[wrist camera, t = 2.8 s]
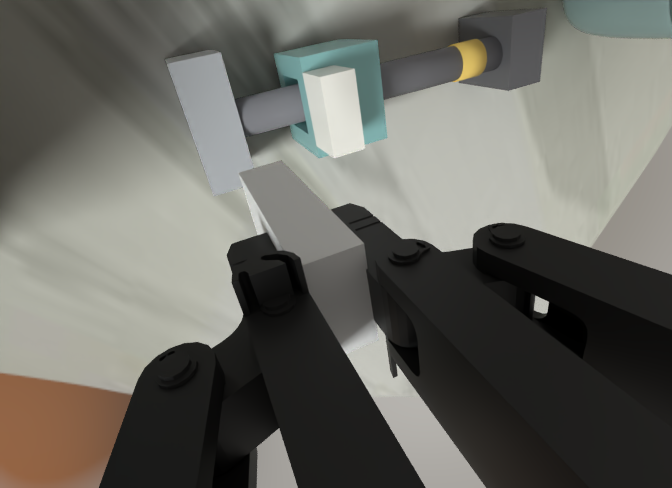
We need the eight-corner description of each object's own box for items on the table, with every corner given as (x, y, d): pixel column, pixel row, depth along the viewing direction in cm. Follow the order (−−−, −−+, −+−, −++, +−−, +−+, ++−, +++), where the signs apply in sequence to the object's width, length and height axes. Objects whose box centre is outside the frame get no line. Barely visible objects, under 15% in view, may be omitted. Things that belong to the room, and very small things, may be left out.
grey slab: (205, 172, 30) (213, 196, 26) (164, 59, 26) (166, 64, 22) (243, 161, 31) (258, 183, 27) (210, 49, 27) (220, 52, 22)
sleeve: (292, 138, 31) (336, 171, 23) (273, 53, 28) (316, 60, 20) (351, 122, 32) (410, 148, 24) (339, 39, 29) (403, 40, 21)
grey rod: (225, 138, 27) (231, 147, 25) (213, 99, 26) (218, 105, 24) (479, 70, 32) (502, 73, 30) (480, 34, 31) (504, 34, 29)
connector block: (458, 82, 35) (508, 90, 30) (458, 18, 33) (512, 15, 28) (486, 75, 36) (539, 81, 31) (488, 11, 33) (546, 7, 28)
